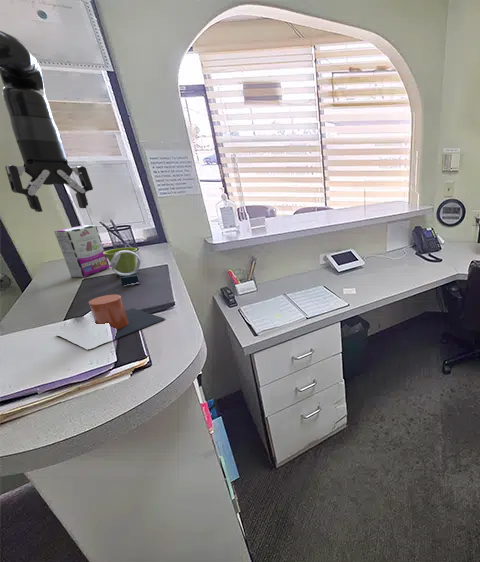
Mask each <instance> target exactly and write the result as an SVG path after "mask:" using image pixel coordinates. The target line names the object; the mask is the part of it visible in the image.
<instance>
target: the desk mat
mask: <svg viewBox="0 0 480 562" xmlns="http://www.w3.org/2000/svg"><path fill="white" fill-rule="evenodd" d="M125 312H126V315H127V318H128V322H129V323H128V325H127V326H125V327H123V328H121V329H118V330H117V333H116V336H115V340H114V341H116V340H119V339H121V338H124V337H126V336H128V335H131V334H134V333H136V332H139V331H141V330H144V329H146V328H148V327H151V326H154V325H156V324H158V323H160V322H163V321H165V320H166V318H165V317H161V316H159V315H155V314H153V313H150V312H146V311H143V310H141V309H137V308H134V307H132V308H129V309H127V310H126V309H125Z"/></svg>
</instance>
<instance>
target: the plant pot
mask: <svg viewBox="0 0 480 562" xmlns="http://www.w3.org/2000/svg"><path fill="white" fill-rule="evenodd" d="M122 250H126V251H127V250H129V251H132V252H134V253H136V254H137V251H138V248H137V247H120V248H119V247H118V248H114V249H113V248H112V249H109V250H104V251H105V252H103V254H104V255H105V256H106V257H107V260H108V263H109V264H110V263H111V260H112V258H113V256H114V254H115V252H117V253H118V252H119V251H122ZM136 265H137V257H136V256H135V255H133V254H131V253H127V252H126V253H121V254H120V258H119V261H118V263H117V265H116V267H115V268H114V269H115V270H117V271H118V272H121V273H128V272H133V271H134V269H135V267H136ZM114 273H115V272H114ZM117 275H118V274H116V273H115V276H117Z"/></svg>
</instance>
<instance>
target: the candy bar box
mask: <svg viewBox="0 0 480 562" xmlns="http://www.w3.org/2000/svg"><path fill="white" fill-rule="evenodd" d="M53 232H54V235H55V238H56V240H57V242H58V246H59V248H60V251H61V253H62V255H63V258H64V262H65V264H66V266H67V269H68V272H69V274H70V277H71V278H87V277H89V276H92V275H95V274H97V273H100V272H102V270H103V271H105V270H107V269H106V268H108V269H110V268H111V267H110V262H109V260H108V258H107V257H106V256H105V255H104V254H103V252H105V251H106V250H105V248H104V246H103V243H102V239H101V236H100V233H99V229H98V227H97V225H96V224H83V225H79V226H78V225H77V226H73V227H69V228H63V229H59V230H54V231H53ZM109 267H110V268H109ZM104 269H105V270H104Z"/></svg>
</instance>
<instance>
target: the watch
mask: <svg viewBox="0 0 480 562" xmlns="http://www.w3.org/2000/svg"><path fill="white" fill-rule="evenodd" d="M126 252H127V253H131V254H133V255H135V256H136V262H137V265H136V267H135V269H134V271H133V272H128V273H121V272H118V271H117V270H115V269H114V268H115V267H116V265H117V263H118V261H119V258H120V254H121V253H126ZM109 266H110V268H111V271H112V272H114V273H116V274H118V275H121V276H119V277H120V282H121V285H122V287H123V286H124V285H127V284H131V283H136V282H140V278H139V274H138V271H139V269H140V266H141V259H140V256H139V255H138V254H137V252H136V253H134V252H132V251H129V250H127V251H126V250H122V251H119V252H118V253H117V252H115V254H114V256H113V258H112V260H111V263H110V262H109ZM116 274H115V275H116Z"/></svg>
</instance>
